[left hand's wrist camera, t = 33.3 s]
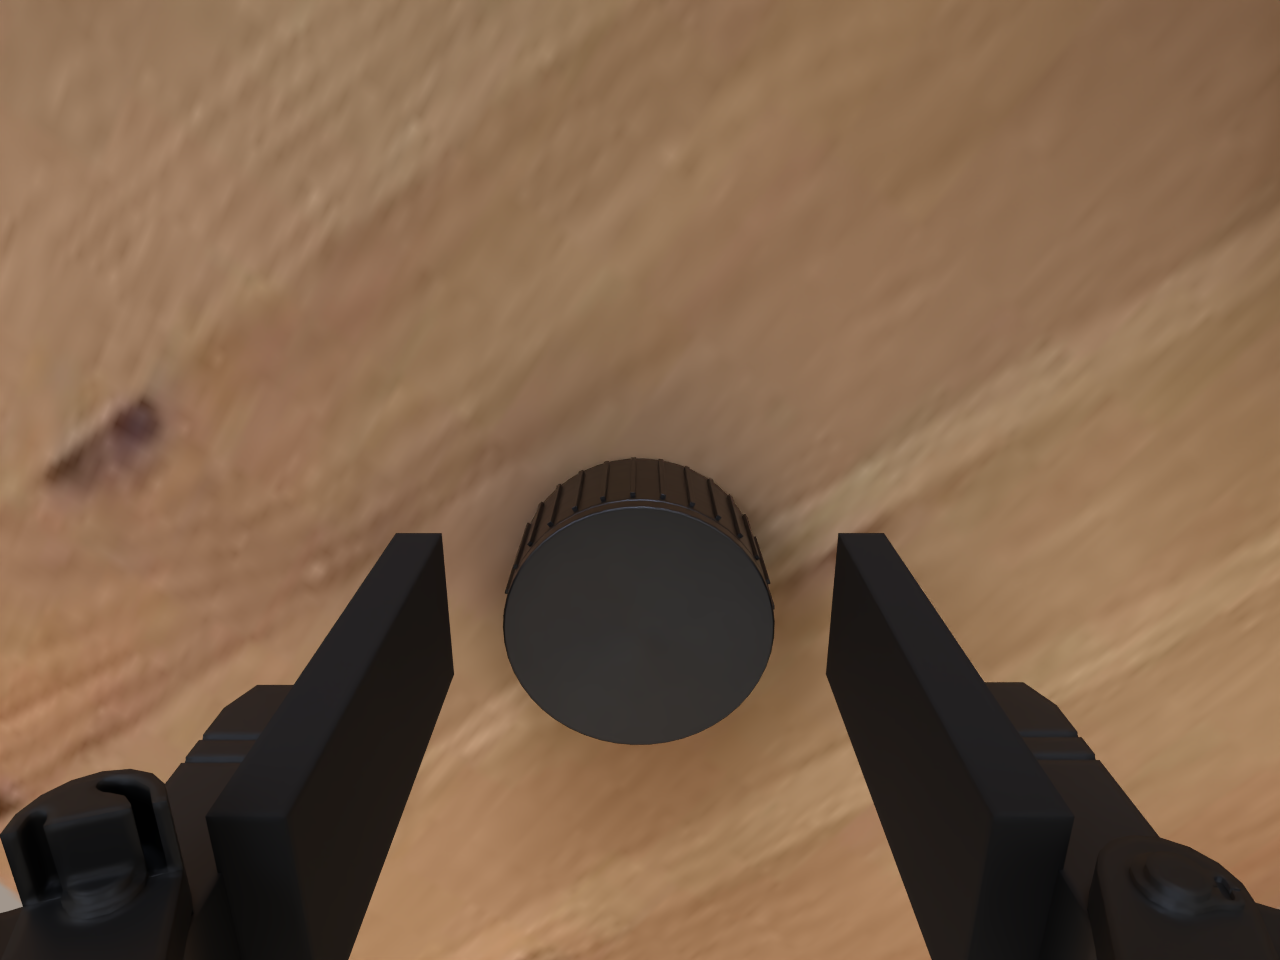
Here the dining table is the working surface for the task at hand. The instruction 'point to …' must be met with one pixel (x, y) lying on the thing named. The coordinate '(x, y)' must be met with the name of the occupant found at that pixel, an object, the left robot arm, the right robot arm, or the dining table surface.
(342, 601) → the dining table surface
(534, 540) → the cap
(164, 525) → the dining table surface
